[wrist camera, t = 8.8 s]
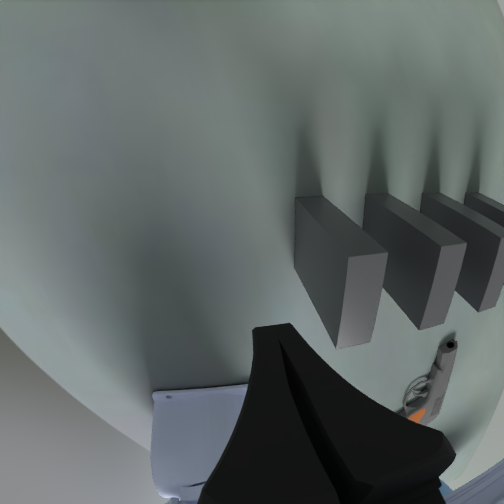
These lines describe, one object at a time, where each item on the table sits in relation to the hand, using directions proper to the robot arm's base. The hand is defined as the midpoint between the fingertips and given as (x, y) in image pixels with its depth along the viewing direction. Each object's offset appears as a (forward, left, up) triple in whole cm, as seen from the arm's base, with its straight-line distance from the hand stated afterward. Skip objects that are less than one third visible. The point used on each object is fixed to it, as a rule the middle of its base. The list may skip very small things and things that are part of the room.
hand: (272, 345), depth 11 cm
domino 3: (+14, 0, -10) cm, 17 cm away
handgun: (+18, -23, -10) cm, 31 cm away
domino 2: (+9, 0, -10) cm, 13 cm away
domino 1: (+4, 0, -10) cm, 10 cm away
